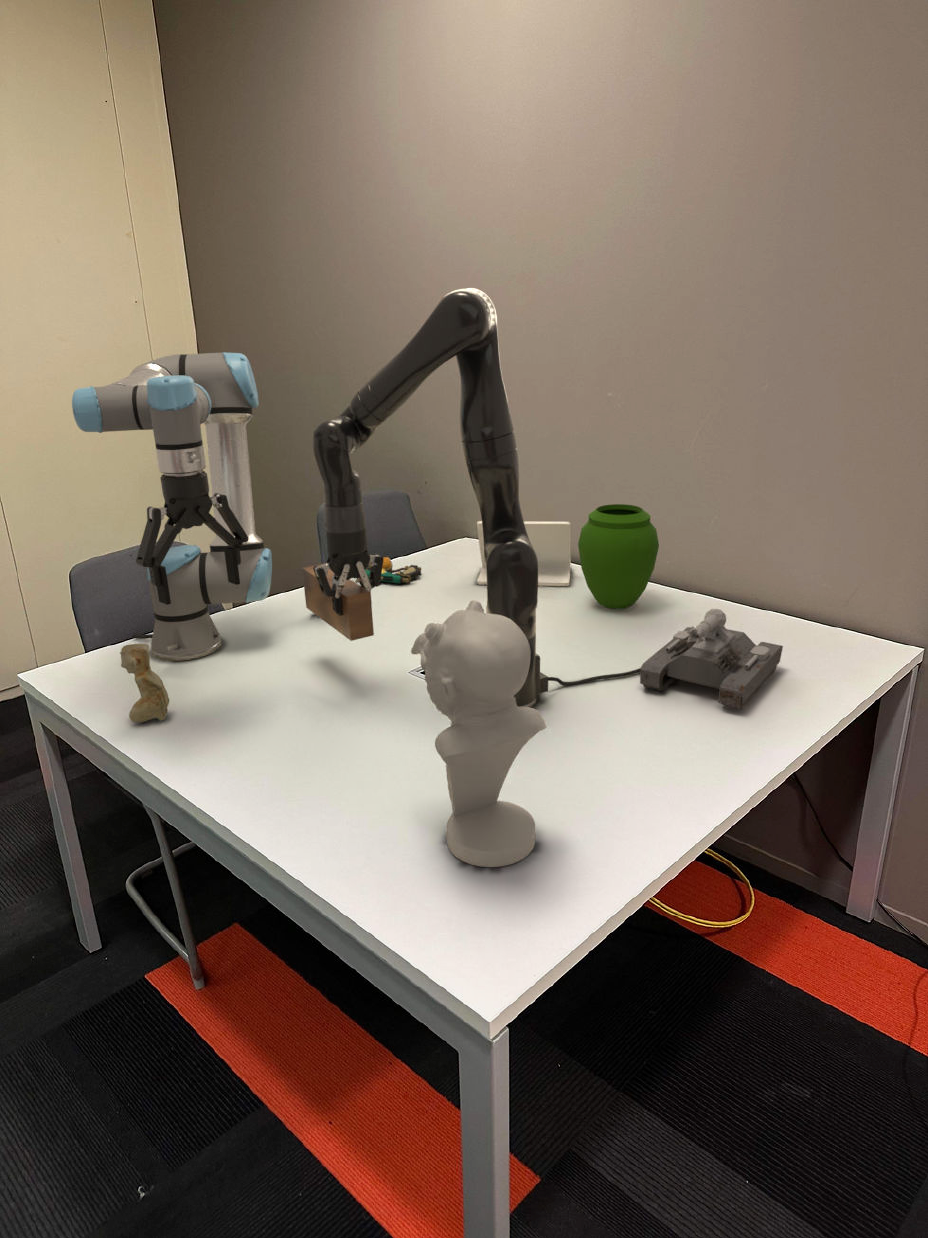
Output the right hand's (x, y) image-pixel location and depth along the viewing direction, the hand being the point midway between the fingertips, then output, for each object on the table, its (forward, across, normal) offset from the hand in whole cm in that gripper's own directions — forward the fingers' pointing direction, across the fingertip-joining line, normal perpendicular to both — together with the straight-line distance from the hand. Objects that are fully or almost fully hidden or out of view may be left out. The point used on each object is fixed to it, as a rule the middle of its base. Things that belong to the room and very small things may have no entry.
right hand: (352, 611), depth 166 cm
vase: (+17, +75, +9) cm, 77 cm away
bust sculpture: (+17, -7, -54) cm, 57 cm away
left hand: (-9, -28, +1) cm, 30 cm away
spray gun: (+17, +38, +62) cm, 75 cm away
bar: (+4, 0, +8) cm, 9 cm away
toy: (+17, +61, -36) cm, 73 cm away
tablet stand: (+17, +70, +42) cm, 84 cm away
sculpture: (+17, -38, +11) cm, 43 cm away
